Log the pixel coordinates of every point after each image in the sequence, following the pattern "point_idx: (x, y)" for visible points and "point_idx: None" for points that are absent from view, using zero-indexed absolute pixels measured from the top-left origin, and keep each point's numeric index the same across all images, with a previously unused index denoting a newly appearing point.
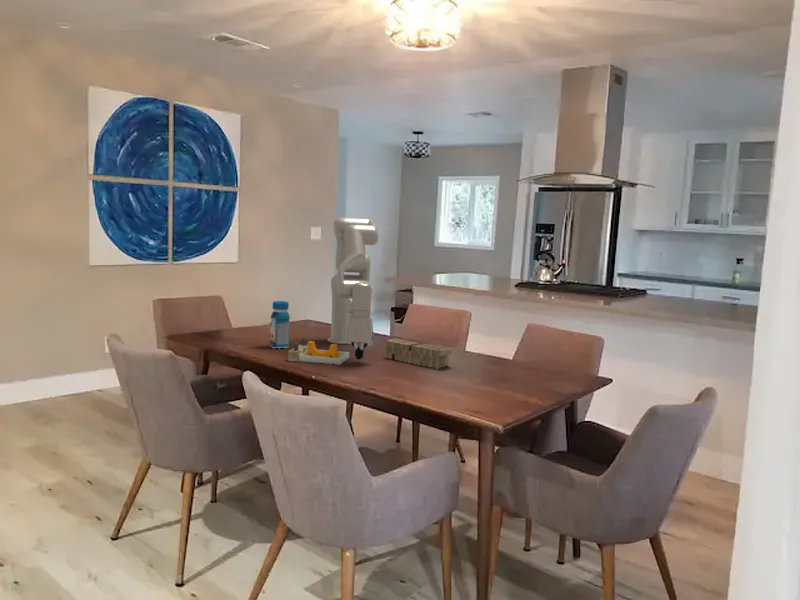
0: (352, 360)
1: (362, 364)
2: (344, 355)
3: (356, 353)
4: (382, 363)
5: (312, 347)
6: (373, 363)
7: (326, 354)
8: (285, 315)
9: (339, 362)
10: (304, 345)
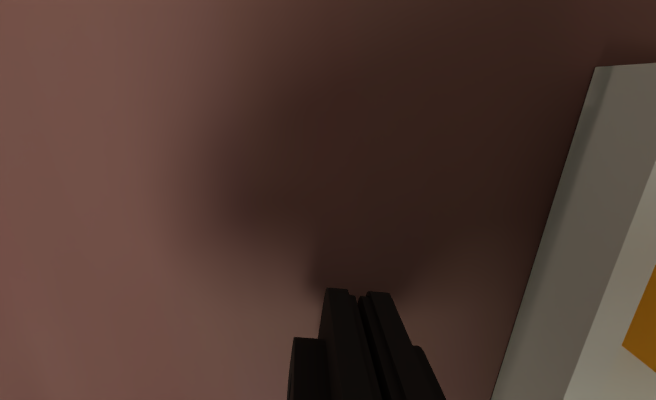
0: None
1: (278, 206)
2: (588, 350)
3: (414, 351)
4: (19, 338)
5: None
6: (140, 305)
7: None
8: None
9: (643, 64)
10: None
